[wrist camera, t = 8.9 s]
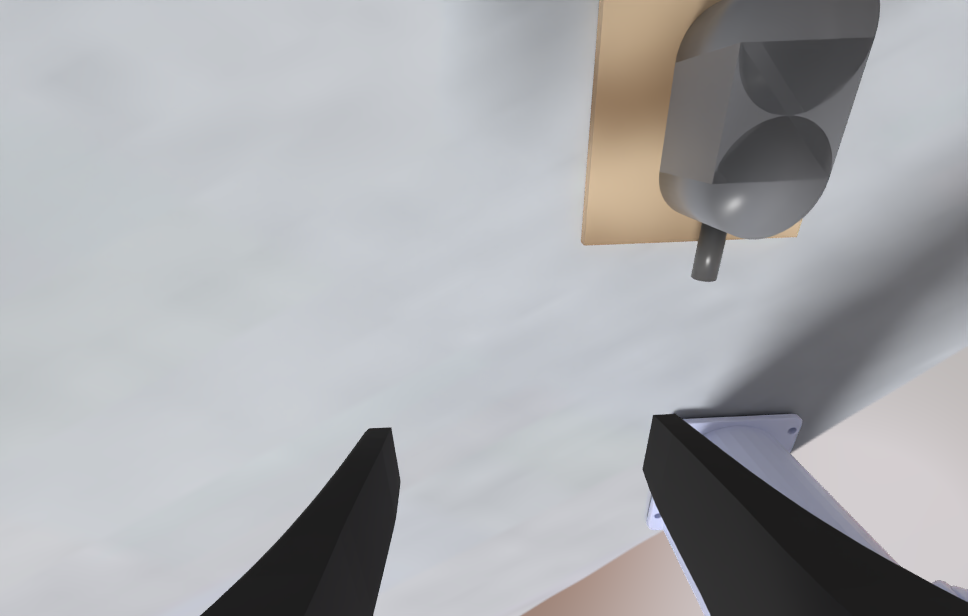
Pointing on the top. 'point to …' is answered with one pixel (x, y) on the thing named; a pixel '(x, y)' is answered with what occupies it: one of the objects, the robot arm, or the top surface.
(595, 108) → the cork coaster
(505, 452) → the top surface
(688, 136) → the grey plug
